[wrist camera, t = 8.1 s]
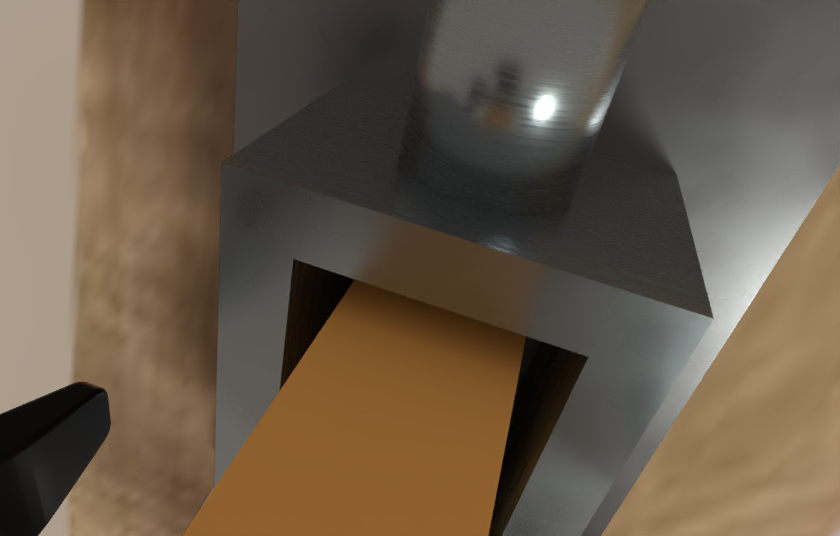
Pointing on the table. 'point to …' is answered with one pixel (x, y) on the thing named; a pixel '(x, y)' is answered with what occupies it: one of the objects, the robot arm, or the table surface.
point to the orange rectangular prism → (378, 429)
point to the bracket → (524, 203)
